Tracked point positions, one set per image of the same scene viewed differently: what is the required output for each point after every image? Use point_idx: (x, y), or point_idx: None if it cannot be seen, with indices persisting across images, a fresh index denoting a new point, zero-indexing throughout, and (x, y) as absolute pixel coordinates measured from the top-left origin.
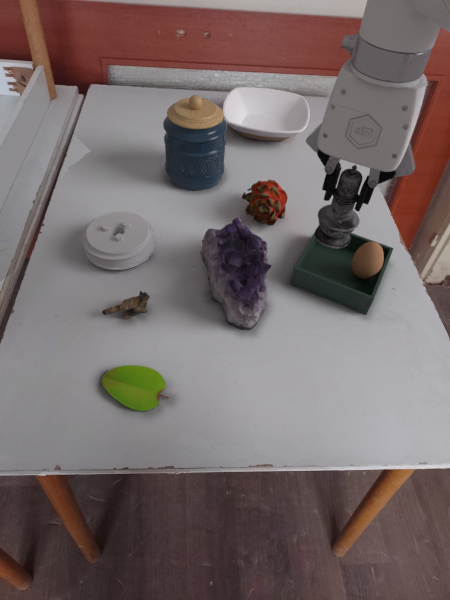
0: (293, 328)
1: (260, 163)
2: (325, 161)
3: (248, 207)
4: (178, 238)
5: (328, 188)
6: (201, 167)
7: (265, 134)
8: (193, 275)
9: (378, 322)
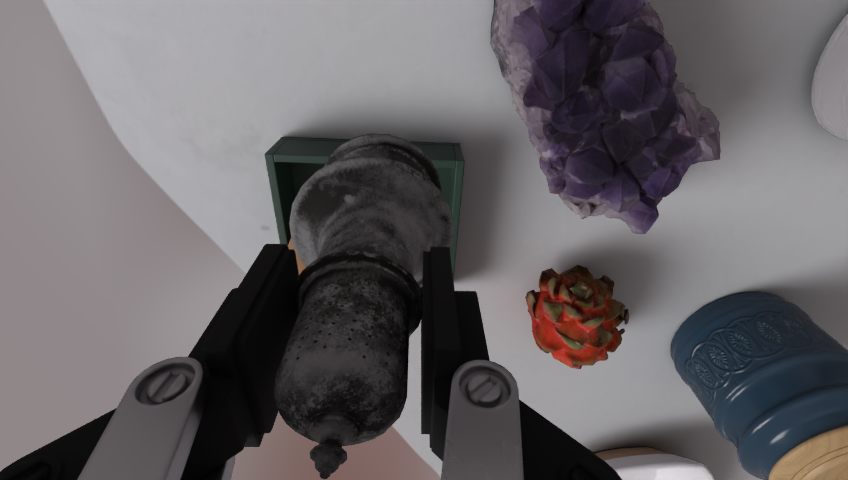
0: (409, 12)
1: (600, 404)
2: (531, 436)
3: (608, 290)
4: (742, 154)
5: (444, 289)
6: (749, 343)
7: (614, 463)
8: (686, 57)
9: (251, 128)
